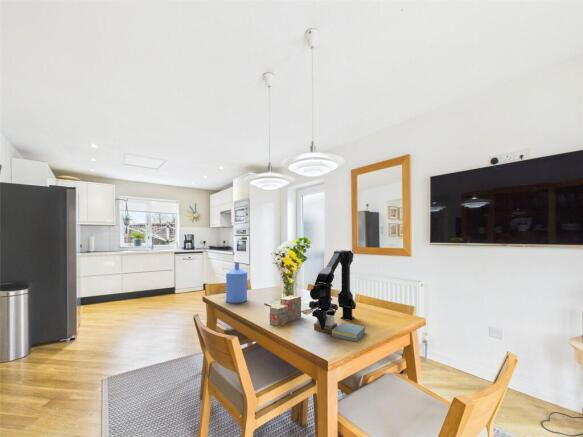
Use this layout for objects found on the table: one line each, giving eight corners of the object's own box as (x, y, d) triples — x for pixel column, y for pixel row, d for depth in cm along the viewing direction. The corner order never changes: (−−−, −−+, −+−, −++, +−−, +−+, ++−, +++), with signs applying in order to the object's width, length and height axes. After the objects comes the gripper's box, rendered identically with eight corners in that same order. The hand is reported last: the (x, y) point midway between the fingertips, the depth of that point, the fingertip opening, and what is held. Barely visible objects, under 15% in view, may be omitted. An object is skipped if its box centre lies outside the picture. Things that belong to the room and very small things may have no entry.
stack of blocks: (278, 326, 142) (278, 303, 143) (269, 324, 146) (269, 301, 147) (301, 316, 159) (301, 296, 160) (292, 315, 163) (292, 294, 164)
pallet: (320, 325, 143) (320, 320, 143) (337, 329, 137) (337, 323, 137) (313, 329, 137) (313, 323, 137) (331, 333, 131) (331, 327, 132)
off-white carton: (327, 322, 139) (327, 314, 139) (334, 323, 137) (334, 316, 137) (324, 324, 136) (323, 316, 136) (331, 326, 133) (331, 318, 134)
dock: (342, 328, 139) (342, 322, 139) (365, 332, 132) (365, 326, 133) (331, 336, 128) (331, 330, 128) (355, 341, 121) (355, 335, 121)
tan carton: (320, 321, 141) (320, 313, 141) (327, 322, 139) (327, 314, 139) (317, 323, 138) (316, 315, 138) (324, 324, 136) (323, 316, 136)
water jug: (250, 301, 195) (250, 263, 197) (229, 304, 187) (229, 264, 189) (242, 297, 209) (243, 261, 210) (223, 299, 201) (223, 262, 202)
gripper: (319, 291, 150) (319, 319, 149) (303, 297, 135) (303, 329, 134) (338, 293, 144) (338, 323, 143) (322, 300, 129) (323, 333, 128)
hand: (325, 327), depth 137 cm, fingers closed on pallet, 7 cm apart
